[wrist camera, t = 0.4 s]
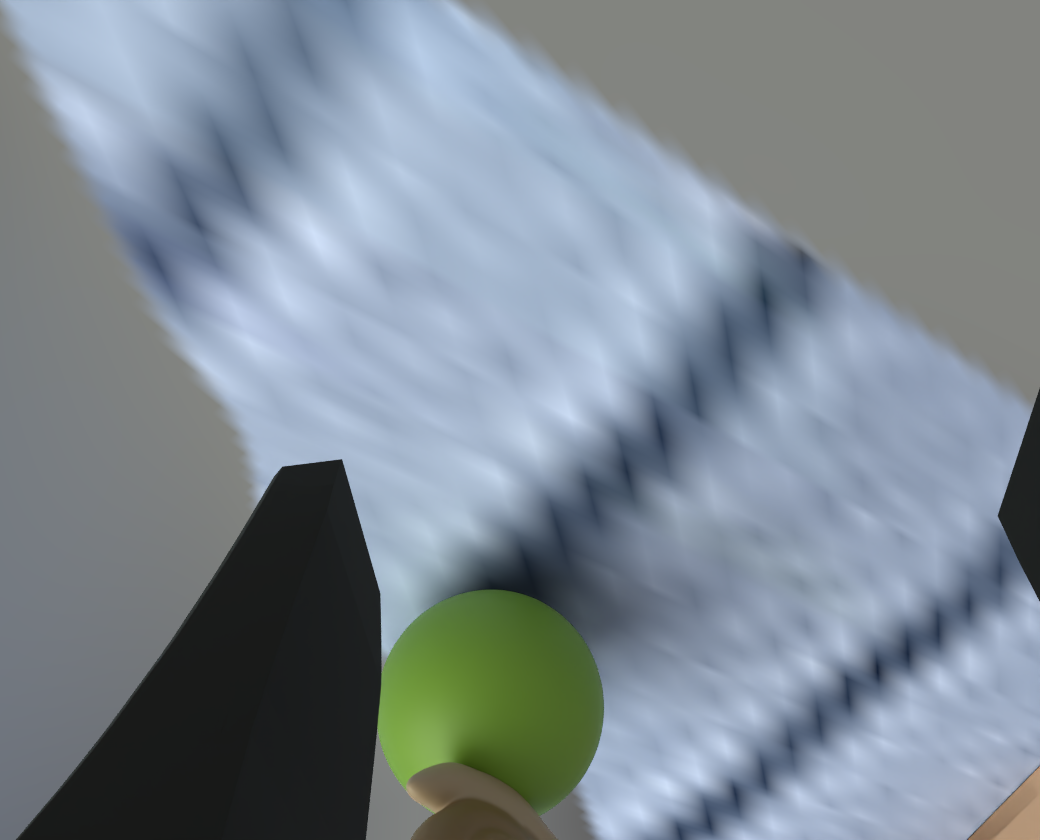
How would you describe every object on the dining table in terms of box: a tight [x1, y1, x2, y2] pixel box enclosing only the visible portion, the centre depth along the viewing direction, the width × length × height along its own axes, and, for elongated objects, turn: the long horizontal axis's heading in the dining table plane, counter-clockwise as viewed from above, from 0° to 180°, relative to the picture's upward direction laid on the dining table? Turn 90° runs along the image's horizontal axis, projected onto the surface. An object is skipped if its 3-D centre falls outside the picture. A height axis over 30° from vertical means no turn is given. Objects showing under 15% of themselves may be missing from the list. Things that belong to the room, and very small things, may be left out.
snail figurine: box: [377, 590, 604, 840], centre depth 19 cm, size 5×6×12 cm
